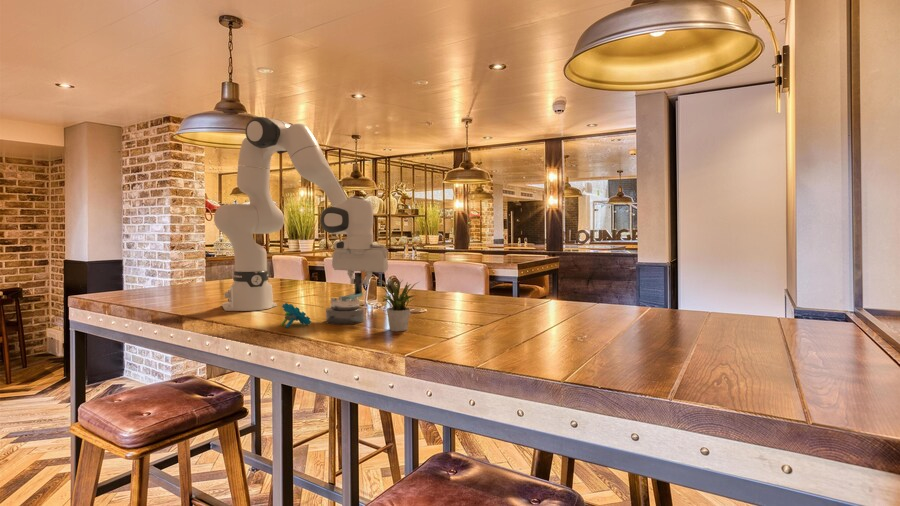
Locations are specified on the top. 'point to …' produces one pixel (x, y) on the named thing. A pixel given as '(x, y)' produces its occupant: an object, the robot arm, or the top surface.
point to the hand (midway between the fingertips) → (359, 284)
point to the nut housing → (345, 316)
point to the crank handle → (349, 297)
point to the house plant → (398, 307)
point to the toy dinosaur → (294, 315)
